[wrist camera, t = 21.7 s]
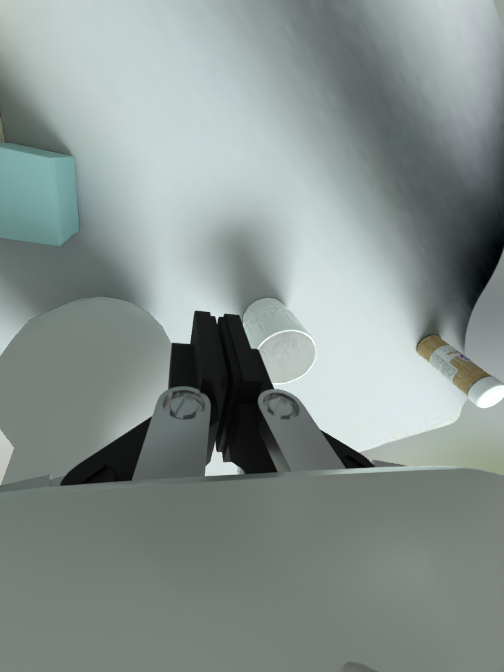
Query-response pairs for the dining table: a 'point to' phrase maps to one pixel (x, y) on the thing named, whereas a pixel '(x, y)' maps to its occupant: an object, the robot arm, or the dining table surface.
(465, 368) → the sprinkles bottle
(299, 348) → the white cup
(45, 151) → the keeper
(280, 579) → the robot arm
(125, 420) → the vase
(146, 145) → the dining table surface
